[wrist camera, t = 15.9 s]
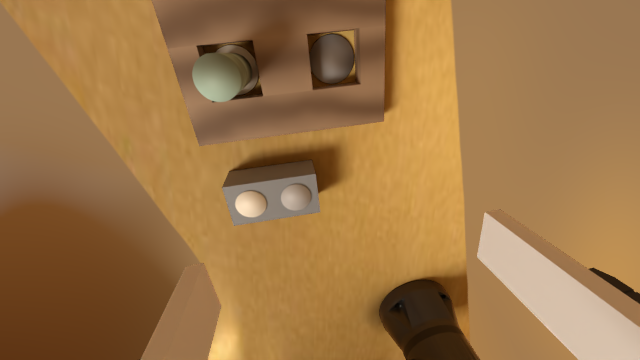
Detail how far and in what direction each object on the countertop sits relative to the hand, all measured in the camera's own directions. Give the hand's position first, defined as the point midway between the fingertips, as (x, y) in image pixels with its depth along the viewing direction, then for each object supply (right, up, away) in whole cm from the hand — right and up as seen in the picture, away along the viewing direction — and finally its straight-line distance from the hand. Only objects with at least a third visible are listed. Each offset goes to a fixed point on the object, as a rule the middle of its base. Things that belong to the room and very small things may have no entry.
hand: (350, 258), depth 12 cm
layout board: (-6, +18, +20) cm, 27 cm away
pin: (-12, +17, +19) cm, 28 cm away
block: (-8, +3, +27) cm, 28 cm away
